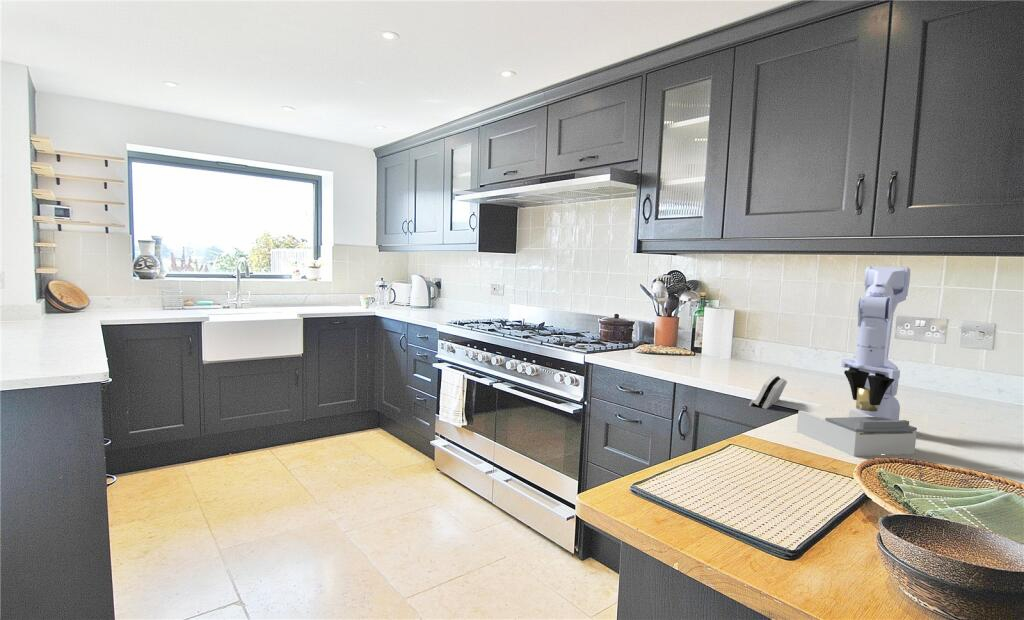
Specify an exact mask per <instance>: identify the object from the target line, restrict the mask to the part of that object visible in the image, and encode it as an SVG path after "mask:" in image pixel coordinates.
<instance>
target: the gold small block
mask: <svg viewBox="0 0 1024 620" xmlns="http://www.w3.org/2000/svg"><path fill="white" fill-rule="evenodd" d="M855 403H856V404H855V409H856V408H857V409H859V410H864V411H878V405H870V388H869V387H857V399H856V400H855Z"/></svg>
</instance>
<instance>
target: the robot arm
mask: <svg viewBox="0 0 1024 620" xmlns="http://www.w3.org/2000/svg"><path fill="white" fill-rule="evenodd" d="M910 281H911V268H910V267H909V266H903V267H902V266H901V267H899V266H871V265H869V266H867V267H866V268H865V273H864V293H865V294H864V296H863V297H862V298H861V297H860V298H859V299H858V302H857V308H856V309H857V310H856V313H857V327H858V329H857V332H858V333H857V342H856V343H857V344H856V352H855V353H856V354H855V360H852V359H845V358H843V359H841V366H840V367H841V368H845V369H846V368H848V370H844V372H843V373H844V375H845V377H846V378H847V382H848V384H849V387H850V391H851V397H852V400H854V401H856V399H857V387H869V388H870V405H878V411H864V410H859V409H857V408H856V407H855V411H858V412H861V413H864V414H867V415H870V416H873V417H885V418H888V419H891V420H900V411H901V405H900V402H899V400H898V398H896V397H895V396H896V395H897V394H898V390H899V389H898V387H899V379H900V377H901V370H900V369H899V368H898V366H897V365H896V364H894V363H893V362H892V361H891V360H889V351H890V345H891V337H892V329H893V324H894V323H893V322H894V316H895V315H894V314H895V310H896V309H897V305H898V303H901V302H905V301H906V299H907V297H908V296H909V295H908V294H909V288H910V283H911V282H910Z"/></svg>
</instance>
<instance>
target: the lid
mask: <svg viewBox="0 0 1024 620" xmlns="http://www.w3.org/2000/svg"><path fill="white" fill-rule="evenodd" d="M824 419H825V420H826V421H828V422H831V423H834V424H836V425H839V426H842V427H844V428H847V429H850V430H852V431H855V432H872V431H914V430H916V431H917V430H918V428H917V426H913V425H910V421H909V420H906V419H899V420H891V419H888V418H885V417H849V416H848V417H847V416H846V417H844V416H843V417H825V418H824Z"/></svg>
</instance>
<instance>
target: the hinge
mask: <svg viewBox="0 0 1024 620" xmlns="http://www.w3.org/2000/svg"><path fill="white" fill-rule="evenodd" d="M787 384H788V381H787V380H786V379H785V378H783V377H782V378H781V377H780V376H778V375H776V374H773V375H771V376H770V377H769V378H768V379H767V380H766V381H765V382H764V383H763V385H762V388H761V389H760V391H759V393H758V395H757V397H756V396H755V397H754V398H753V399H751V400H750V402H749V404H748V407H751V406H753V405H754V404H755V405H757V406H760V405H761V408H762V409H765V410H767V409H768V408H769V407H771V406H772V405H774V404H775V403H776V402H777V401H779V400H780V397H781V396H782V394H783V391H784V389H785V387H786V385H787Z"/></svg>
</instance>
